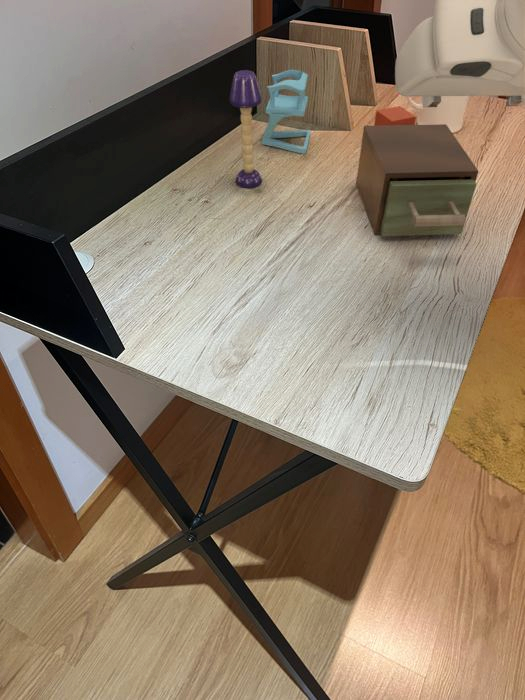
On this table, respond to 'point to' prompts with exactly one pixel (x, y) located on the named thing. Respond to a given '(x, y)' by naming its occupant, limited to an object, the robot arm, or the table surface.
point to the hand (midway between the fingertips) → (470, 100)
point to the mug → (443, 112)
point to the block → (394, 117)
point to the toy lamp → (246, 123)
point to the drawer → (427, 206)
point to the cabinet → (406, 161)
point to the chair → (286, 110)
